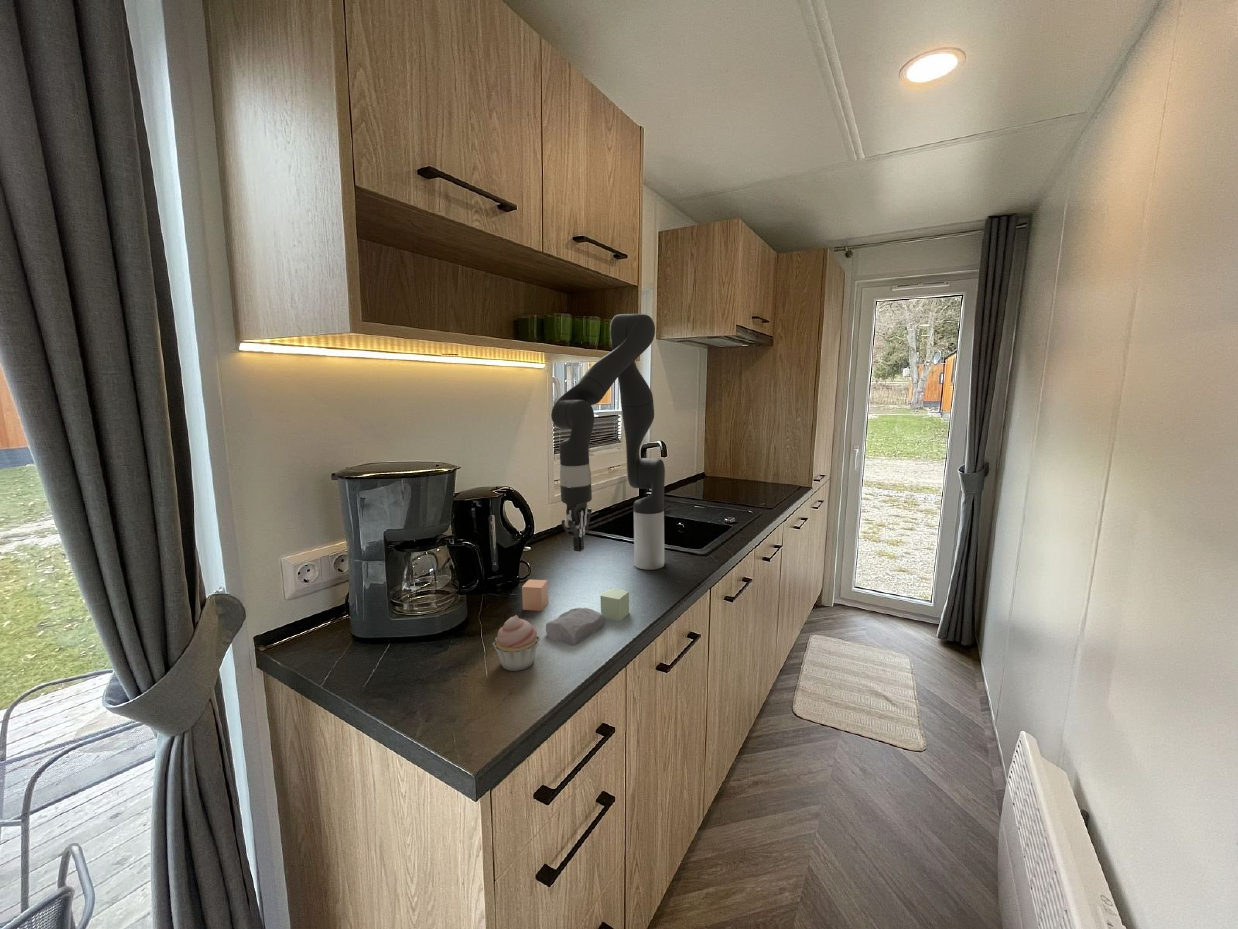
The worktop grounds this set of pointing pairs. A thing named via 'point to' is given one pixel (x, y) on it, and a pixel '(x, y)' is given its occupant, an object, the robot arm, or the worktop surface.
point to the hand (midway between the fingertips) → (578, 550)
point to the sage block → (615, 604)
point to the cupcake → (516, 644)
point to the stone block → (575, 625)
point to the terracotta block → (535, 595)
